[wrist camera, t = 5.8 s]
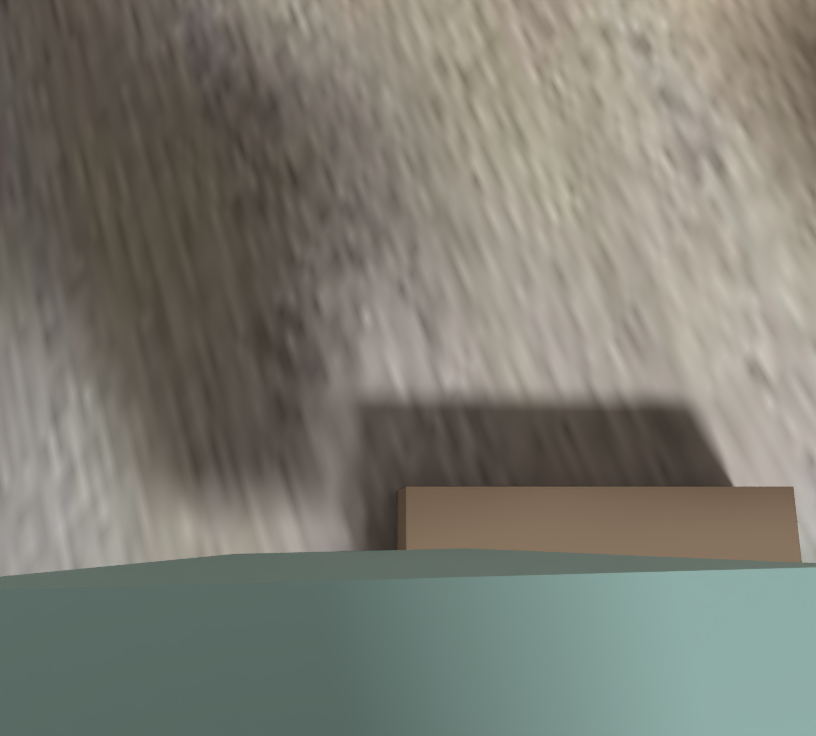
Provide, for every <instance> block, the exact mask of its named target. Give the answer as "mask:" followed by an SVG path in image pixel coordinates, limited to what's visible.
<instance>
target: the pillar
mask: <svg viewBox="0 0 816 736" xmlns="http://www.w3.org/2000/svg"><path fill="white" fill-rule="evenodd" d="M0 736H816V563H798V562H775V561H752V560H728V559H705V558H682V557H658V556H635V555H611V554H588V553H565V552H541V551H518V550H494V549H471V548H460V549H419V550H378V551H338V552H297V553H257V554H230V555H220V556H210V557H199V558H189V559H179V560H168V561H158V562H148V563H137V564H127V565H117V566H106V567H96V568H86V569H75V570H65V571H55V572H44V573H34V574H24V575H13V576H3V577H0Z"/></svg>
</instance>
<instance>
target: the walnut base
mask: <svg viewBox="0 0 816 736" xmlns="http://www.w3.org/2000/svg"><path fill="white" fill-rule="evenodd" d="M460 548H471V549H494V550H518V551H541V552H565V553H588V554H611V555H635V556H658V557H682V558H705V559H728V560H752V561H775V562H798V563H802V561H801V552H800V543H799V534H798V525H797V516H796V507H795V498H794V489H793V487H404V488H402V489H401V490H399V491H397V550H419V549H460Z"/></svg>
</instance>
